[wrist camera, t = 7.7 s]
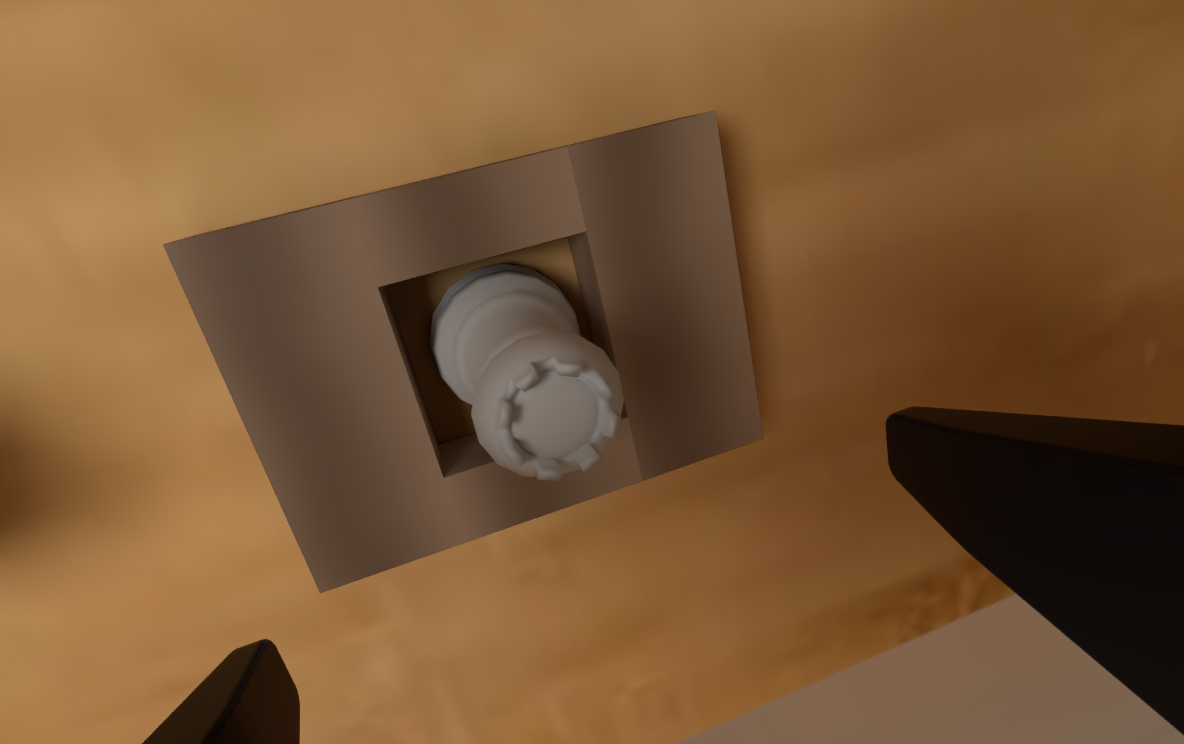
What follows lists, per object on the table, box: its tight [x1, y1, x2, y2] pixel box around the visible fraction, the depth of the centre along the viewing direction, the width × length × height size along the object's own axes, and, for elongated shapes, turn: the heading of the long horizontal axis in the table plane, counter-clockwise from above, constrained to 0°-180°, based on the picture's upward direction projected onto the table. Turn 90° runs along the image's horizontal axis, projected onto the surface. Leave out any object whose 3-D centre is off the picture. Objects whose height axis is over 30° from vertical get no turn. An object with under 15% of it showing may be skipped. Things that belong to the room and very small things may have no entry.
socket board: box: [163, 111, 764, 593], centre depth 19 cm, size 14×10×2 cm
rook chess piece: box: [429, 263, 624, 481], centre depth 17 cm, size 4×4×8 cm
